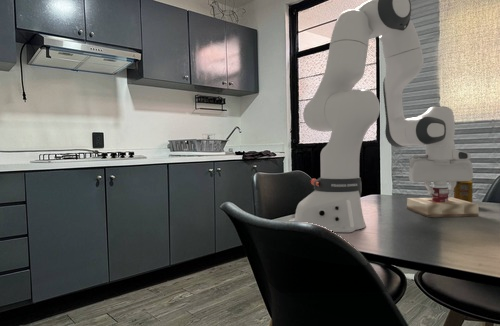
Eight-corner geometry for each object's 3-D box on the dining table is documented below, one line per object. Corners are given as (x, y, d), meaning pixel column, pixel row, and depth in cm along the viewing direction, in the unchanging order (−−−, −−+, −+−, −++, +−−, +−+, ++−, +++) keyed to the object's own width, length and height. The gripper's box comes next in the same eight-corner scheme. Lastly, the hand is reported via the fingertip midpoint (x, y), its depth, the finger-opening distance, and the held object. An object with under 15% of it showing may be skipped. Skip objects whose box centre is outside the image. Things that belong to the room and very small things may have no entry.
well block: (427, 217, 112) (427, 205, 112) (407, 208, 128) (406, 198, 128) (478, 216, 111) (478, 204, 111) (451, 207, 127) (451, 197, 127)
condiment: (476, 205, 131) (476, 173, 131) (470, 208, 125) (469, 175, 125) (454, 203, 136) (454, 172, 136) (447, 206, 130) (447, 174, 130)
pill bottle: (429, 203, 122) (429, 179, 121) (443, 202, 122) (443, 179, 121) (436, 205, 117) (436, 180, 117) (451, 205, 117) (450, 180, 117)
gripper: (413, 155, 116) (413, 196, 116) (475, 153, 115) (475, 195, 116) (405, 155, 122) (405, 194, 123) (464, 153, 121) (464, 192, 122)
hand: (440, 194), depth 119 cm, fingers closed on pill bottle, 5 cm apart
